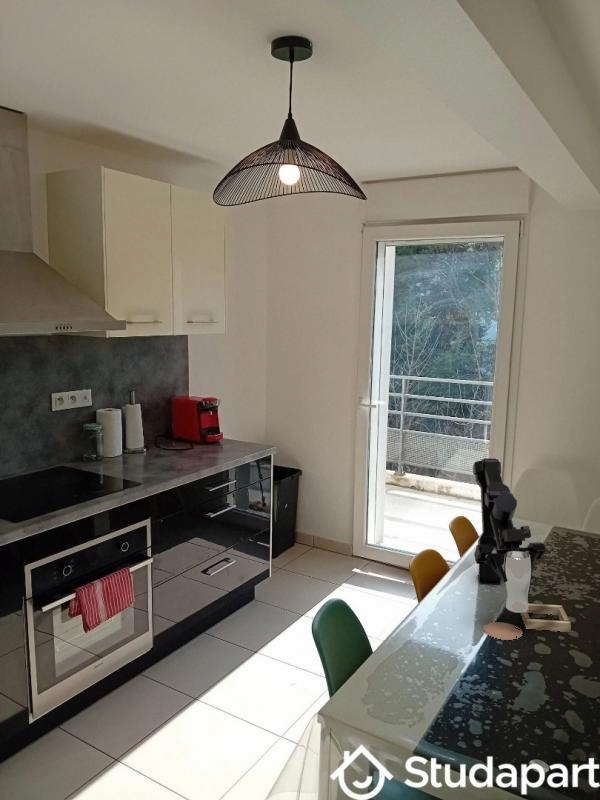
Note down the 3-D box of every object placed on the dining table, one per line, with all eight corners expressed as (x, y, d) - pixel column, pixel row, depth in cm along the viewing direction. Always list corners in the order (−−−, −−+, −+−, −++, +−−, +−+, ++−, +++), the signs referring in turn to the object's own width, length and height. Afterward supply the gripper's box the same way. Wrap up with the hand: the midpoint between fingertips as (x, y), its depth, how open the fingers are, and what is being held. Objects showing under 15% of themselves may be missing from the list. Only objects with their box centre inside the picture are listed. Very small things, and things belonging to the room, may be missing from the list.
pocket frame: (526, 629, 172) (526, 620, 172) (519, 611, 183) (519, 603, 183) (570, 632, 170) (570, 623, 170) (561, 613, 181) (561, 605, 181)
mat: (485, 639, 167) (485, 638, 167) (482, 622, 177) (482, 621, 177) (525, 641, 165) (525, 640, 165) (519, 624, 175) (519, 623, 175)
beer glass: (501, 611, 171) (501, 557, 169) (506, 601, 177) (506, 548, 175) (529, 615, 167) (529, 560, 166) (532, 605, 174) (532, 552, 172)
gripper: (478, 516, 174) (491, 570, 164) (544, 514, 175) (561, 567, 165) (468, 535, 183) (480, 587, 173) (532, 533, 183) (548, 584, 174)
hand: (517, 581), depth 171 cm, fingers closed on beer glass, 7 cm apart
